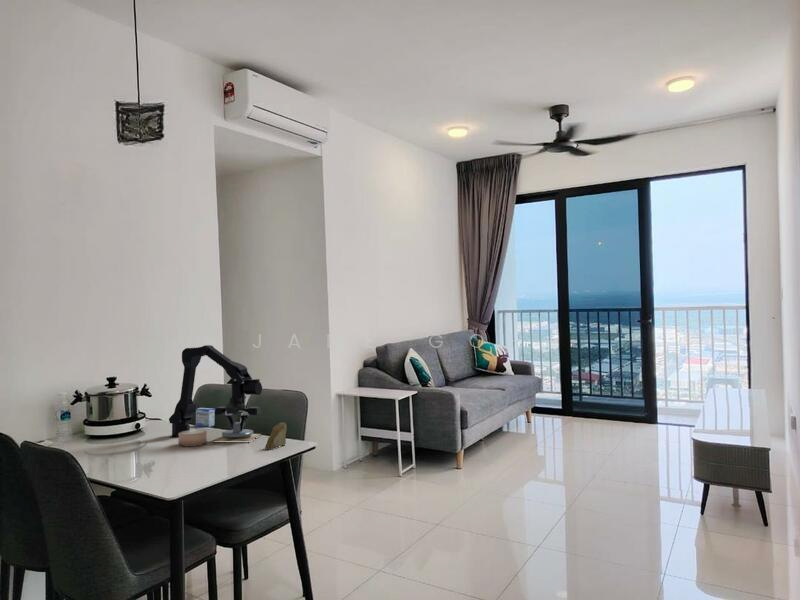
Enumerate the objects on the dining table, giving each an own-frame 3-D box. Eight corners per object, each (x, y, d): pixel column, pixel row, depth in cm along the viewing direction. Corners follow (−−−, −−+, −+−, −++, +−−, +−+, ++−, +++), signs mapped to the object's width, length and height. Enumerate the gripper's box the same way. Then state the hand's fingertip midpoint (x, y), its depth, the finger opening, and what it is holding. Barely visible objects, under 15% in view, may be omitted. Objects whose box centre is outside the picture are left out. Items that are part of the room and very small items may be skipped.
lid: (216, 437, 226) (217, 425, 227) (229, 431, 239) (229, 420, 240) (246, 437, 225) (246, 425, 226) (257, 431, 238) (257, 420, 239)
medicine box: (195, 426, 265) (195, 408, 265) (201, 424, 269) (201, 407, 269) (209, 427, 262) (209, 409, 263) (214, 425, 267) (214, 407, 267)
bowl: (173, 447, 218) (173, 434, 218) (186, 441, 229) (186, 429, 229) (199, 447, 217) (199, 434, 217) (211, 441, 228) (211, 429, 228)
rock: (268, 445, 208) (292, 439, 214) (261, 426, 212) (285, 420, 218) (262, 458, 216) (286, 451, 221) (256, 439, 220) (279, 433, 225)
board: (213, 442, 226) (213, 440, 226) (226, 435, 240) (226, 433, 240) (249, 442, 225) (249, 440, 225) (261, 436, 239) (261, 433, 239)
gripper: (209, 396, 226) (208, 434, 225) (252, 396, 225) (252, 434, 224) (220, 393, 237) (219, 429, 236) (261, 393, 236) (261, 429, 235)
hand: (237, 430), depth 233 cm, fingers closed on lid, 3 cm apart
